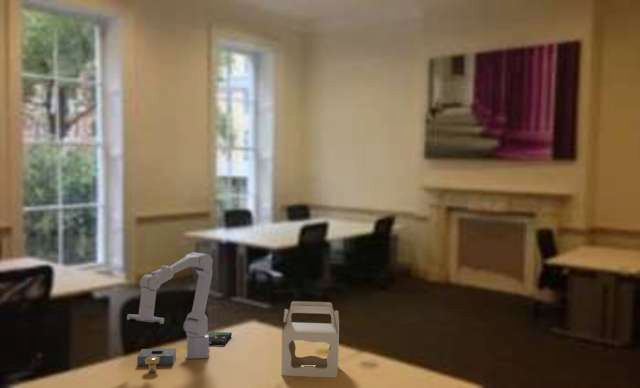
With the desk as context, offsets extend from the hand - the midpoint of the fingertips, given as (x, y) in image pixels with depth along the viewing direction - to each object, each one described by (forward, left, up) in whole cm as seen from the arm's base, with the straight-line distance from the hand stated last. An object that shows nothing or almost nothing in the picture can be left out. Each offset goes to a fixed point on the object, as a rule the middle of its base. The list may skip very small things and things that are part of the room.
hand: (143, 340), depth 233 cm
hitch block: (-4, -11, -12) cm, 17 cm away
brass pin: (-4, +1, -12) cm, 13 cm away
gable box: (-66, +5, -13) cm, 67 cm away
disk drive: (-27, -40, -13) cm, 50 cm away
